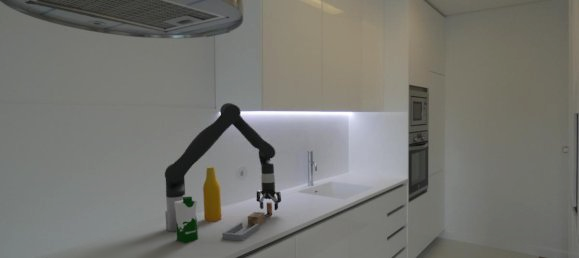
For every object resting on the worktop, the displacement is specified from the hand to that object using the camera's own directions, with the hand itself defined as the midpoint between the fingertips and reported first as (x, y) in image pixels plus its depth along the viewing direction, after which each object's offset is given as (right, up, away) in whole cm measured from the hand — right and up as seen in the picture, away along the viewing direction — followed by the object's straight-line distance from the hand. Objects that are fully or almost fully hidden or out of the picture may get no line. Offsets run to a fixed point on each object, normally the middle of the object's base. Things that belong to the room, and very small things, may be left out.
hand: (269, 209), depth 202 cm
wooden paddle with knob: (-3, -4, -9) cm, 10 cm away
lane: (-11, -5, -31) cm, 33 cm away
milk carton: (-36, -6, -36) cm, 51 cm away
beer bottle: (-31, -5, -5) cm, 31 cm away
